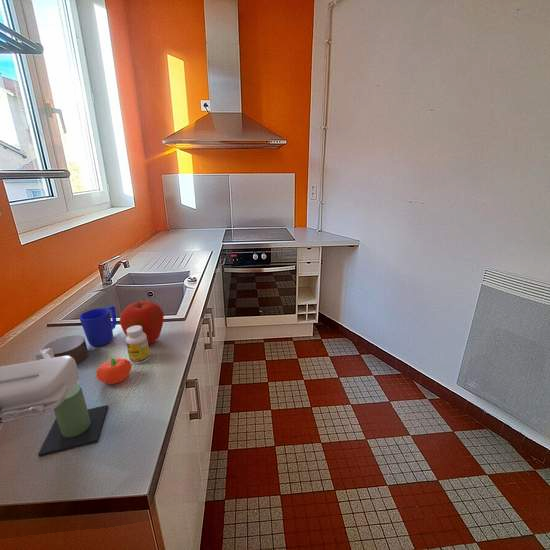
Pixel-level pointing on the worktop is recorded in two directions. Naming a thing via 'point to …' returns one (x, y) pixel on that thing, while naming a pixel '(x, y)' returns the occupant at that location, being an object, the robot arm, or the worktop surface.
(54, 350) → the plinth
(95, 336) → the mug
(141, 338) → the supplement bottle
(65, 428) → the stacking piece
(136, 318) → the apple
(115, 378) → the pumpkin
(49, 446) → the mat
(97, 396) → the worktop surface
